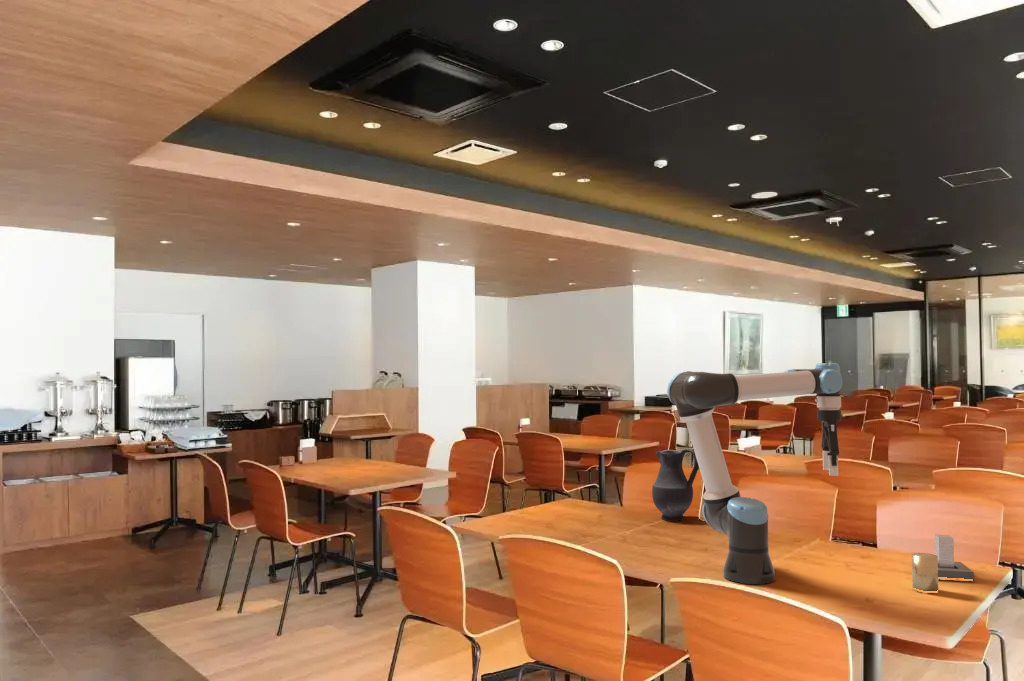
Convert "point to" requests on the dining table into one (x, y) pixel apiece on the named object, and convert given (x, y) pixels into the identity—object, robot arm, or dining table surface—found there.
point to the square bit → (944, 551)
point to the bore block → (956, 571)
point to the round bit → (925, 571)
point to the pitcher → (673, 485)
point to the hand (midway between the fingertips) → (830, 472)
